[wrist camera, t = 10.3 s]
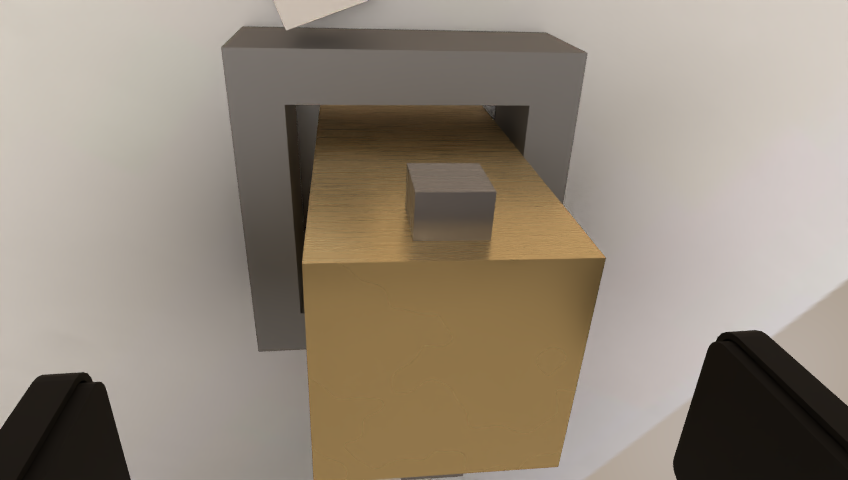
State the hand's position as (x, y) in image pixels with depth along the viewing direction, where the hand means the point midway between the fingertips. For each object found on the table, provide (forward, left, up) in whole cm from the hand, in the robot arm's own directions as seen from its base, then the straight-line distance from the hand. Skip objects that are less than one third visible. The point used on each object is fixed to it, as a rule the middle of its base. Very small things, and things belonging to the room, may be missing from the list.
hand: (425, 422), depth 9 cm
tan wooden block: (+1, 0, -9) cm, 9 cm away
